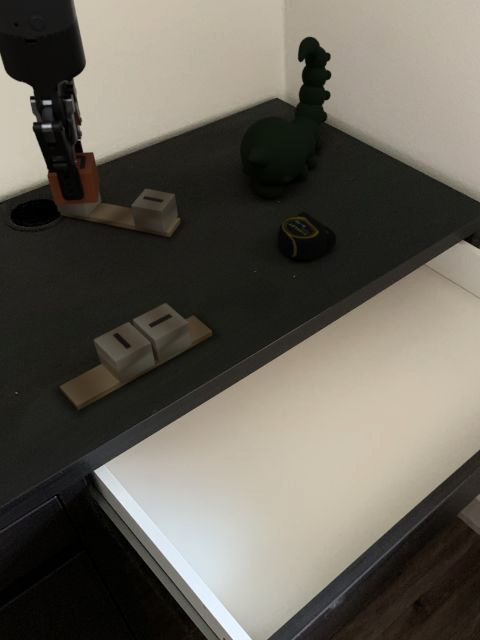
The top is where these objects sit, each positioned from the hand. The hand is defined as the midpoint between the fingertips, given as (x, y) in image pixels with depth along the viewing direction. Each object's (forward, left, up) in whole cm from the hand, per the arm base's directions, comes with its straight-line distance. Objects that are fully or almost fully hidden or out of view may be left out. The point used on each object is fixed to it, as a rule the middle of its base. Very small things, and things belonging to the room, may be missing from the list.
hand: (75, 185), depth 73 cm
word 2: (+10, -10, -15) cm, 21 cm away
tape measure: (+22, +17, -15) cm, 32 cm away
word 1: (-5, +15, -15) cm, 22 cm away
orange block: (0, 0, -1) cm, 1 cm away
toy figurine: (+14, +34, -15) cm, 40 cm away
